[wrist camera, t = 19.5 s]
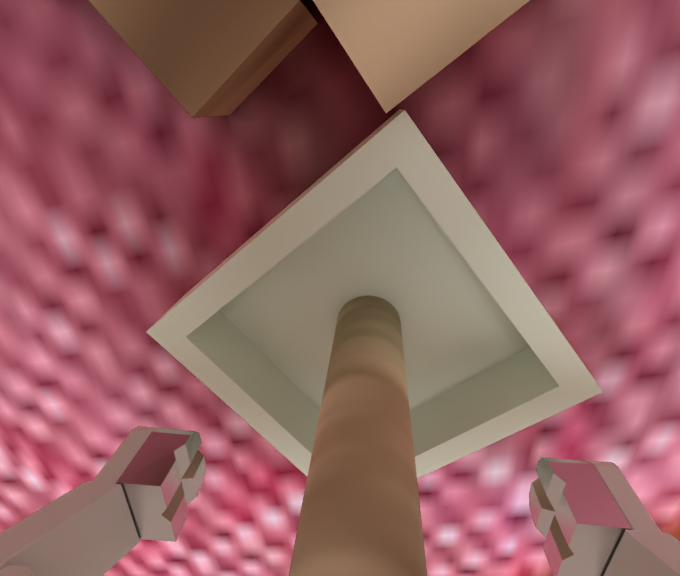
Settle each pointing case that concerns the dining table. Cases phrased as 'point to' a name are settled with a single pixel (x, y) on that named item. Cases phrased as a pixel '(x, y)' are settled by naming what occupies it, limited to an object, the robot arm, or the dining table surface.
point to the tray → (390, 284)
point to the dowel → (362, 457)
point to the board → (409, 37)
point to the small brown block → (209, 44)
